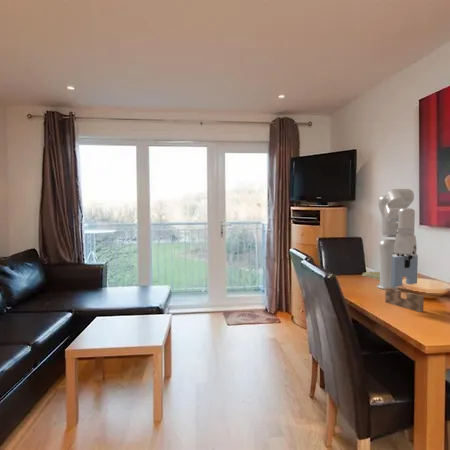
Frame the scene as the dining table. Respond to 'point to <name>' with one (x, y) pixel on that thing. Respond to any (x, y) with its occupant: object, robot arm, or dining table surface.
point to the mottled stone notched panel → (411, 302)
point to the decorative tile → (372, 275)
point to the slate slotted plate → (403, 271)
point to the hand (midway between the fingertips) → (404, 266)
